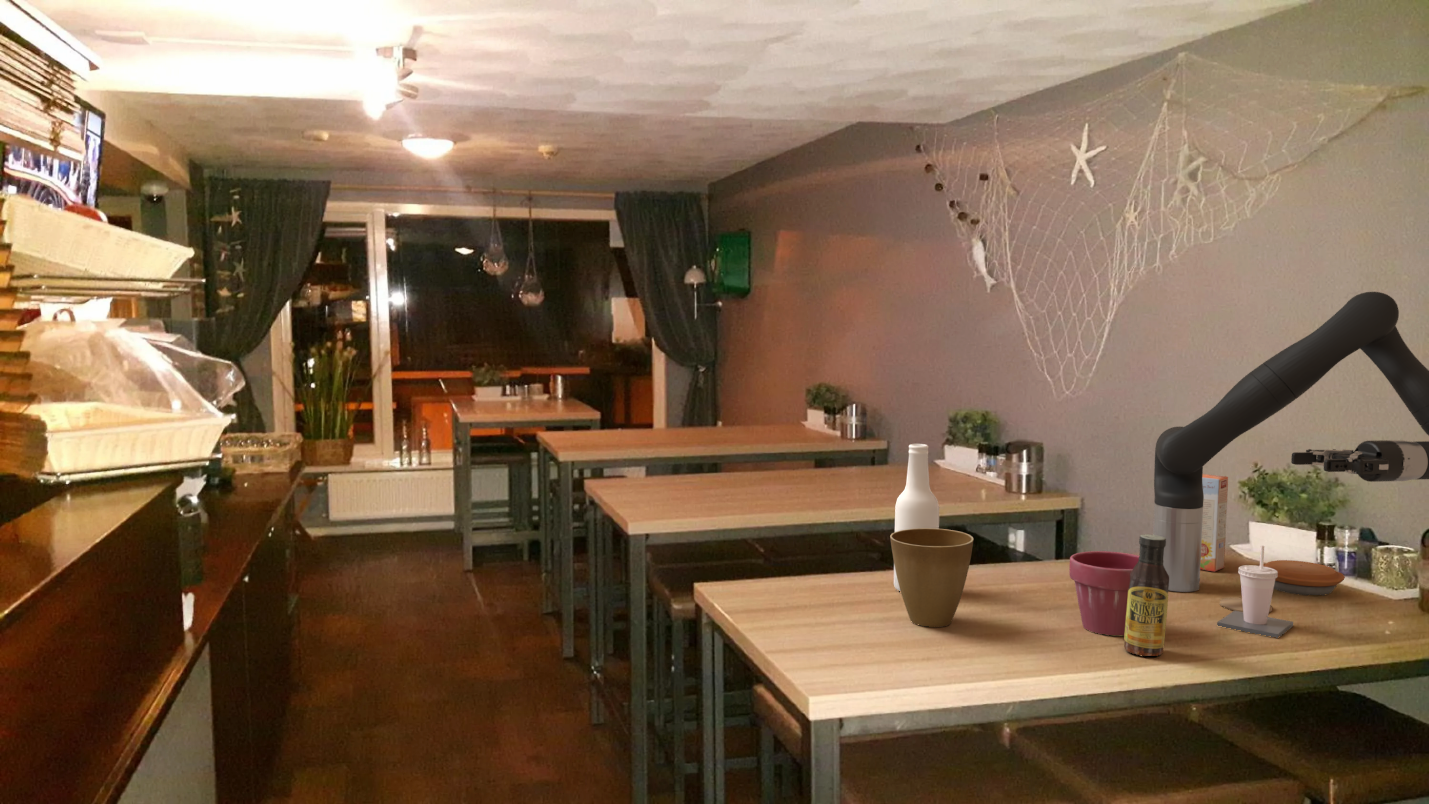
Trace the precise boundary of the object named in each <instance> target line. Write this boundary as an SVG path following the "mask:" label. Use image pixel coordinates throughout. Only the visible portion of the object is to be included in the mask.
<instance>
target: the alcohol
mask: <svg viewBox="0 0 1429 804" xmlns="http://www.w3.org/2000/svg"><path fill="white" fill-rule="evenodd" d="M929 448H930V447H929V445H928V444H924V443H912V444H911V443H910V444H909V445H908V461H907V462H908V463H907V471H906V481H905V482H906V484H905V487H904V490H903V491H902V492H901V493H900V494H899V496H898V497H897V498H896V503H895V505H894V506H895V507H894V509H895V511H894V532H897V531H901V530H906V529H918V528H934V529H940V505H939V501H938V498H937V497H936V495H935V494H934V493H933V492H932V490H931V486H930V473H929V469H930V468H929ZM893 586H894V588H895V590H896V589H897V590H899V591H900V587H899V583H898V579H897V575H896V570H895V565H894V564H893ZM897 590H896V591H897Z"/></svg>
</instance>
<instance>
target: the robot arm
mask: <svg viewBox="0 0 1429 804" xmlns="http://www.w3.org/2000/svg"><path fill="white" fill-rule="evenodd" d="M1399 315H1400V311H1399V307H1398V304H1397V302H1396V300H1395V299H1394V298H1393V297H1392V296H1390V295H1388V294H1386V293H1384V292H1381V291H1380V292H1379V291H1366V292H1361V293H1359V294H1357V295H1354V296H1352V297H1351V298H1350V299H1349V300H1348V301H1346V303H1345V304H1344V305H1343V306H1342V307H1341V308H1340V309H1339V310H1338V311H1337V312H1336V313H1334V314H1333V315H1332V316H1331V317H1329V319H1327V320H1326V321H1325V322H1324V323H1323V324H1321V326H1319V327H1318V328H1317V329H1315V330H1314V331H1313V332H1311V333H1310V334H1308V335H1307V336H1305V337H1303V338H1301V339H1299V340H1298V341H1295V342H1294V343H1293V344H1291V345H1289V346H1287V347H1286V348H1284V349H1283V350H1281V351H1279V352H1278V353H1276V354H1275V355H1273V356H1271V357H1270V358H1268V359H1267V360H1265V361H1264V362H1262V363H1261V364H1260V365H1258V366H1257V367H1255V368H1254V369H1253V370H1251V371H1250V372H1249V373H1247V374H1245V376H1243V377H1242V378H1241V379H1240V380H1239V381H1237V383H1235V385H1233V387H1232V388H1231V389H1230V390H1229V391H1228V392H1227V393H1226V394H1225V395H1224V396H1223V397H1222V398H1221V399H1220V400H1219V401H1218V402H1217V403H1216V405H1215V406H1213V407H1212V408H1211V409H1210V410H1208V411H1207V412H1205V414H1202V415H1201V416H1200V417H1197V419H1195V420H1193V421H1192V422H1190V423H1188V424H1187V425H1185V426H1174V427H1173V426H1172V427H1170V428H1167V429H1166V430H1164V431H1163V432H1162V433H1161V434H1160V435H1159V436H1158V438H1157V440H1156V443H1155V448H1154V475H1153V488H1154V489H1153V490H1154V503H1153V504H1154V507H1153V526H1152V527H1153V530H1152V535H1157V536H1161V537H1164V538H1166V546H1165V548H1164V555H1163V561H1164V562H1163V566H1164V568H1165V570H1166V572H1167V574H1168V575H1169V587H1168V591H1171V592H1181V593H1182V592H1183V593H1184V592H1185V593H1186V592H1187V593H1189V592H1190V593H1191V592H1196V591H1198V590H1200V581H1201V569H1200V563H1201V542H1202V522H1203V500H1204V494H1203V484H1202V475H1203V474H1204V473H1203V472H1204V471H1203V468H1204V466H1205V465H1206V464H1207V463H1208V462H1209V461H1211V460H1212V459H1213V458H1214V457H1215V456H1217V454H1218V453H1219V452H1221V451H1222V450H1224V448H1225V447H1226V446H1228V445H1229V444H1230V443H1232V442H1233V441H1234V440H1235V439H1237V438H1239V437H1240V436H1242V435H1243V434H1244V433H1246V432H1248V431H1249V430H1251V429H1254V428H1255V427H1256V426H1258V425H1260V424H1261V423H1263V422H1264V421H1265V420H1267V419H1269V418H1271V417H1272V416H1273V415H1275V414H1277V413H1278V412H1280V411H1281V410H1282V409H1284V408H1286V407H1287V406H1288V405H1289V404H1291V403H1293V402H1294V401H1296V400H1298V398H1300V397H1301V396H1302V395H1303V394H1305V393H1306V392H1307V391H1309V389H1310V388H1312V387H1313V386H1314V385H1316V383H1318V382H1319V381H1320V380H1321V379H1322V378H1323V377H1324V376H1325V375H1326V374H1327V373H1329V372H1330V371H1331V370H1332V369H1333V368H1334V367H1335V366H1336V365H1337V364H1338V363H1340V362H1341V361H1343V360H1344V359H1345V358H1347V357H1348V356H1350V355H1351V354H1353V353H1354V352H1356V351H1358V350H1361V351H1362V352H1363V353H1364V354H1365V355H1366V357H1368V358H1369V359H1370V360H1371V361H1372V363H1374V365H1375V366H1376V367H1377V368H1378V370H1380V372H1381V373H1382V374H1383V376H1384V377H1385V378H1386V379H1387V381H1388V383H1389V384H1390V386H1391V387H1392V388H1393V389H1394V391H1395V392H1396V393H1397V395H1398V397H1399V398H1400V399H1401V401H1402V402H1403V404H1404V405H1405V407H1406V408H1407V409H1408V411H1409V413H1410V414H1411V415H1412V417H1413V418H1414V419H1415V421H1416V422H1417V423H1418V425H1419V426H1420V428H1421V429H1422V430H1423V432H1424V433H1425V434H1426V435H1428V436H1429V369H1428V368H1427V367H1426V366H1425V365H1424V364H1423V363H1422V362H1421V361H1420V360H1419V359H1418V358H1417V357H1416V356H1415V355H1414V353H1413V352H1412V351H1411V350H1410V348H1409V347H1408V345H1407V344H1406V343H1405V340H1404V339H1403V338H1402V336H1401V334H1400V332H1399V329H1398V328H1397V323H1398V321H1399ZM1291 465H1296V466H1300V465H1302V466H1303V465H1309V466H1322V467H1323V471H1324V472H1326V473H1344V472H1345V473H1348V474H1352V475H1353V474H1354V475H1358V477H1359V478H1361V479H1362V480H1364V481H1366V482H1371V483H1373V482H1374V483H1375V482H1377V483H1378V482H1379V483H1380V482H1405V481H1406V482H1407V481H1412V480H1415V481H1416V480H1417V481H1418V480H1429V440H1428V441H1427V440H1425V441H1419V440H1418V441H1410V440H1409V441H1408V440H1401V439H1399V440H1398V439H1394V440H1392V439H1390V440H1385V439H1384V440H1364V441H1362V442H1360V443H1359V444H1358V445H1357V446H1356V447H1355V449H1350V448H1349V449H1346V448H1343V449H1335V448H1332V449H1329V448H1328V449H1310V448H1309V449H1306V450H1305V452H1304V451H1300V452H1299V451H1298V452H1292V454H1291Z"/></svg>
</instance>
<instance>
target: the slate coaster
mask: <svg viewBox="0 0 1429 804" xmlns="http://www.w3.org/2000/svg"><path fill="white" fill-rule="evenodd" d="M1217 625H1218V626H1222V627H1226V628H1225V629H1227V628H1231V629H1230V630H1232V629H1236V630H1235V631H1237V630H1241V631H1240V632H1242V631H1245V632H1244V633H1247V632H1250V633H1249V634H1252V633H1255V634H1254V635H1257V634H1261V635H1260V636H1262V635H1266V636H1265V637H1267V636H1271V637H1270V638H1272V637H1276V638H1275V639H1277V638H1278V637H1279V636H1280V637H1282V636H1283V635H1285V633H1287V632H1288V631H1289V630H1290V629H1291V628H1293V627H1294V621H1292V620H1291V621H1290V620H1286V619H1283V618H1281V619H1280V618H1277V617H1276V618H1275V617H1270V616H1268V619H1267V623H1266V624H1252V623H1248V622H1246V621H1244V615H1243V612H1239V611H1232V612H1230V613H1229V614H1227V615H1226V616H1224V617H1223V618H1221V619H1219V620H1218V621H1217V622H1216V626H1217ZM1222 627H1221V628H1222ZM1287 630H1288V631H1287ZM1282 634H1283V635H1282ZM1280 637H1279V638H1280ZM1279 638H1278V639H1279Z"/></svg>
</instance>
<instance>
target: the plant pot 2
mask: <svg viewBox="0 0 1429 804" xmlns="http://www.w3.org/2000/svg"><path fill="white" fill-rule="evenodd" d="M1138 561H1139V554H1138V555H1137V554H1132V553H1126V552H1120V551H1119V552H1118V551H1108V550H1107V551H1106V550H1105V551H1104V550H1102V551H1101V550H1099V551H1098V550H1097V551H1096V550H1093V551H1091V550H1090V551H1082V552H1077V553H1074V554H1072V555H1071V556H1070V557H1069V571H1068V572H1069V577H1070V579H1071V580H1072V581H1074V586H1075V587H1074V588H1075V592H1076V598H1077V603H1078V608H1079V613H1080V617H1081V623H1082V627H1083V629H1085V630H1086V629H1087V631H1088V630H1089V632H1091V633H1094V632H1095V633H1094V634H1097V633H1098V635H1102V634H1106V635H1105V636H1109V635H1124V634H1125V623H1126V610H1127V599H1128V589H1129V584H1130V573H1131V571H1132V570H1133V568H1134V567H1135V565H1136V564H1137V562H1138Z"/></svg>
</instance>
